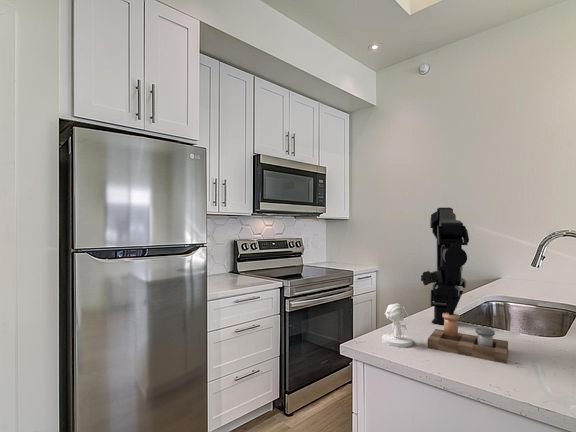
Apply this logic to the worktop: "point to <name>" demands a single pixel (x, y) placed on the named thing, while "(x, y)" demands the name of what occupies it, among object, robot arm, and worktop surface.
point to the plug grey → (485, 337)
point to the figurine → (396, 327)
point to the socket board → (468, 346)
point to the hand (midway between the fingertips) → (451, 314)
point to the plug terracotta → (451, 324)
